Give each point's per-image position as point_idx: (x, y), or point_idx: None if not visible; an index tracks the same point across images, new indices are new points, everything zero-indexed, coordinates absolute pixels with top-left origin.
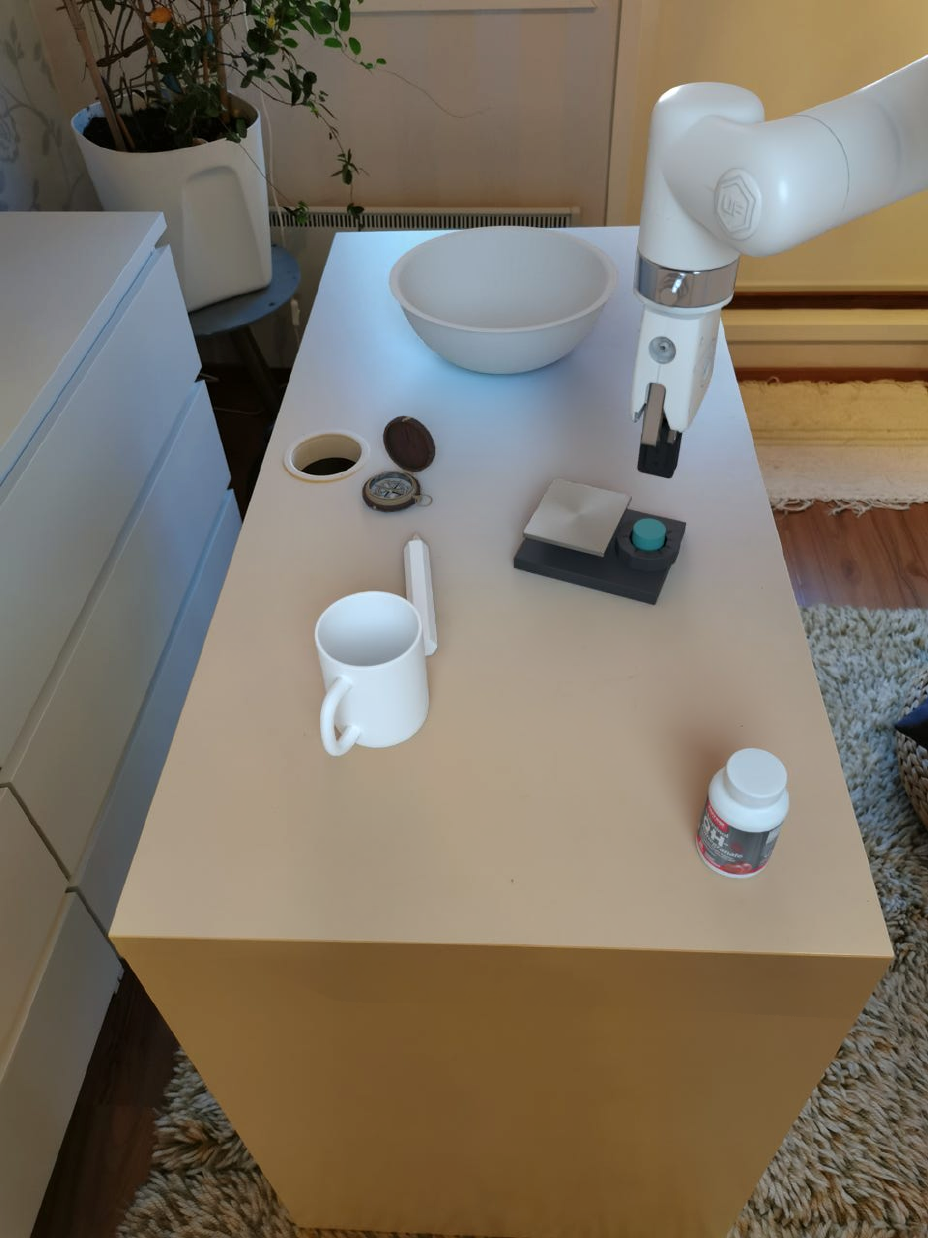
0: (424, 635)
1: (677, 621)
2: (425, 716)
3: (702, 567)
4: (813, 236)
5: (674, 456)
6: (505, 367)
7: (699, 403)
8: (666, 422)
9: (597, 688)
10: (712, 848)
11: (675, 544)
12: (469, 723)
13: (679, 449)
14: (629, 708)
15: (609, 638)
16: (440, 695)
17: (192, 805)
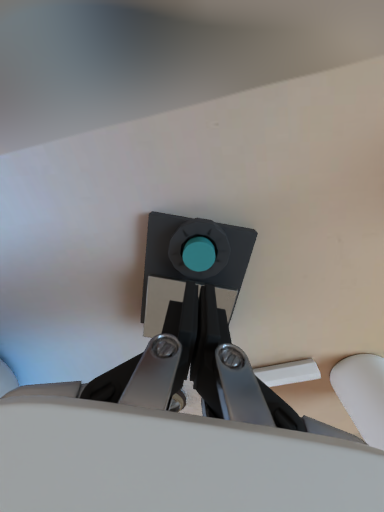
0: (316, 375)
1: (272, 208)
2: (377, 358)
3: (196, 190)
4: None
5: (217, 311)
6: (9, 381)
7: (260, 473)
8: (180, 376)
9: (349, 262)
10: None
11: (203, 226)
12: (373, 332)
13: (187, 302)
14: (374, 238)
15: (295, 260)
16: (347, 349)
17: None
